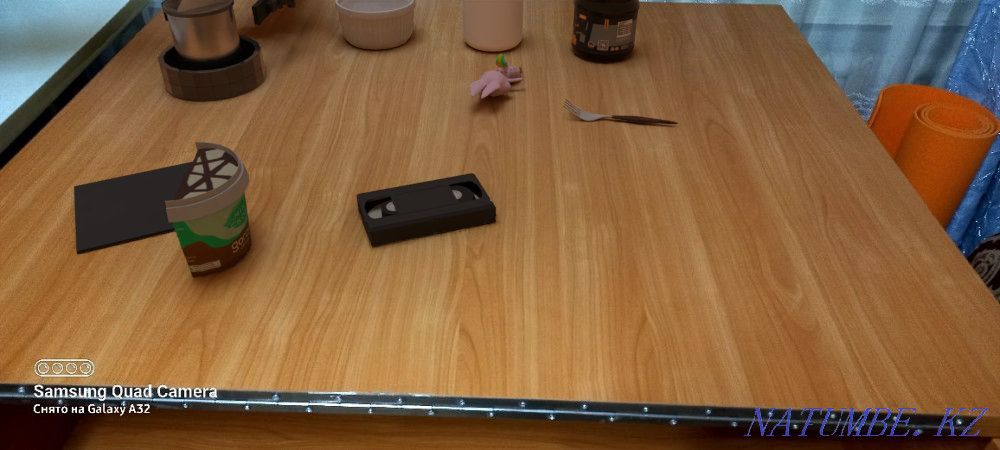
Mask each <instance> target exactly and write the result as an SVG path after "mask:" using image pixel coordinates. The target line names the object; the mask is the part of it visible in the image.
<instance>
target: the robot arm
mask: <svg viewBox="0 0 1000 450" xmlns="http://www.w3.org/2000/svg"><path fill="white" fill-rule="evenodd" d="M165 1H166V0H163V1H162V2H161V4H160V5H161V9H162V13H163V16H164V19H165V22H169V21H168V18H167V14H166V13H165V12H164V11H163V7H162V5H163V3H164V2H165ZM284 6H287V8H289V9H293V8H296V6H297V5H296V0H257V1H256V2H255V3H254V4H252V6H251V11H252V18H253V23H254V25H255V26H260V25H262V24H263V22H264V21H266V19H267V18H268V17H269V16H270V15H271V14H274V13H276V12H277V11H278V10H281V9H283V8H284Z"/></svg>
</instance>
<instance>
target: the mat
mask: <svg viewBox="0 0 1000 450" xmlns="http://www.w3.org/2000/svg"><path fill="white" fill-rule="evenodd" d="M192 162H193V161H188V162H184V163H179V164H174V165H170V166H164V167H159V168H155V169H150V170H146V171H140V172H136V173H131V174H125V175H120V176H115V177H112V178H107V179H101V180H97V181H93V182H88V183H83V184H78V185H74V186H73V197H74V201H73V202H74V225H75V228H74V229H75V248H76V249H75V251H76V254H77V255H78V254H79V255H80V254H83V253H88V252H92V251H96V250H100V249H104V248H109V247H114V246H118V245H121V244H127V243H130V242H134V241H138V240H142V239H146V238H151V237H155V236H158V235H164V234H167V233H171V232H176V231H175V229H174V226H173V223H172V222H169V221H168V216H167V212H166V208H167V207H166V204H165V201H173V200H174V198H175V196H176V194H177V192H178V189H179V187H180V184H181V181H182V178H183V176H184V173H185V172H186V170H187V169H188V168H189V166H190V165H191V164H192Z"/></svg>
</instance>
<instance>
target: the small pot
mask: <svg viewBox="0 0 1000 450" xmlns="http://www.w3.org/2000/svg"><path fill="white" fill-rule="evenodd" d="M164 1H165V0H164ZM234 5H235V0H166V1H165V2H164V3H163V5H161V8H162V7H163V9H162V12H163V11H164V12H165V13H166V14H167V18H168V21H167V22H168V25H169V29H170V32H171V36H172V41H173V44H175V48H176V52H177V56H178V60H179V64H180V68H181V70H190V71H204V70H214V69H220V68H225V67H229V66H232V65H235V64H238V63H240V62H242V61H244V58H243V53H242V48H241V44H240V39H239V35H240V34H239V30H238V25H237V19H236V15H235V10H234Z"/></svg>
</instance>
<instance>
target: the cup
mask: <svg viewBox="0 0 1000 450" xmlns="http://www.w3.org/2000/svg"><path fill="white" fill-rule="evenodd" d="M523 23H524V0H462V32H463V33H462V34H463V40H464V41H465V42H466V44H467V45H468V46H470V47H471V48H472V49H476V50H479V51H483V52H491V53H492V52H493V53H494V52H504V51H508V50H511V49H514V48H515V47H517V46H518V45H519V44H520V43H521V41H522V40H523V32H524V31H523V29H524V26H523V25H524V24H523Z"/></svg>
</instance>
